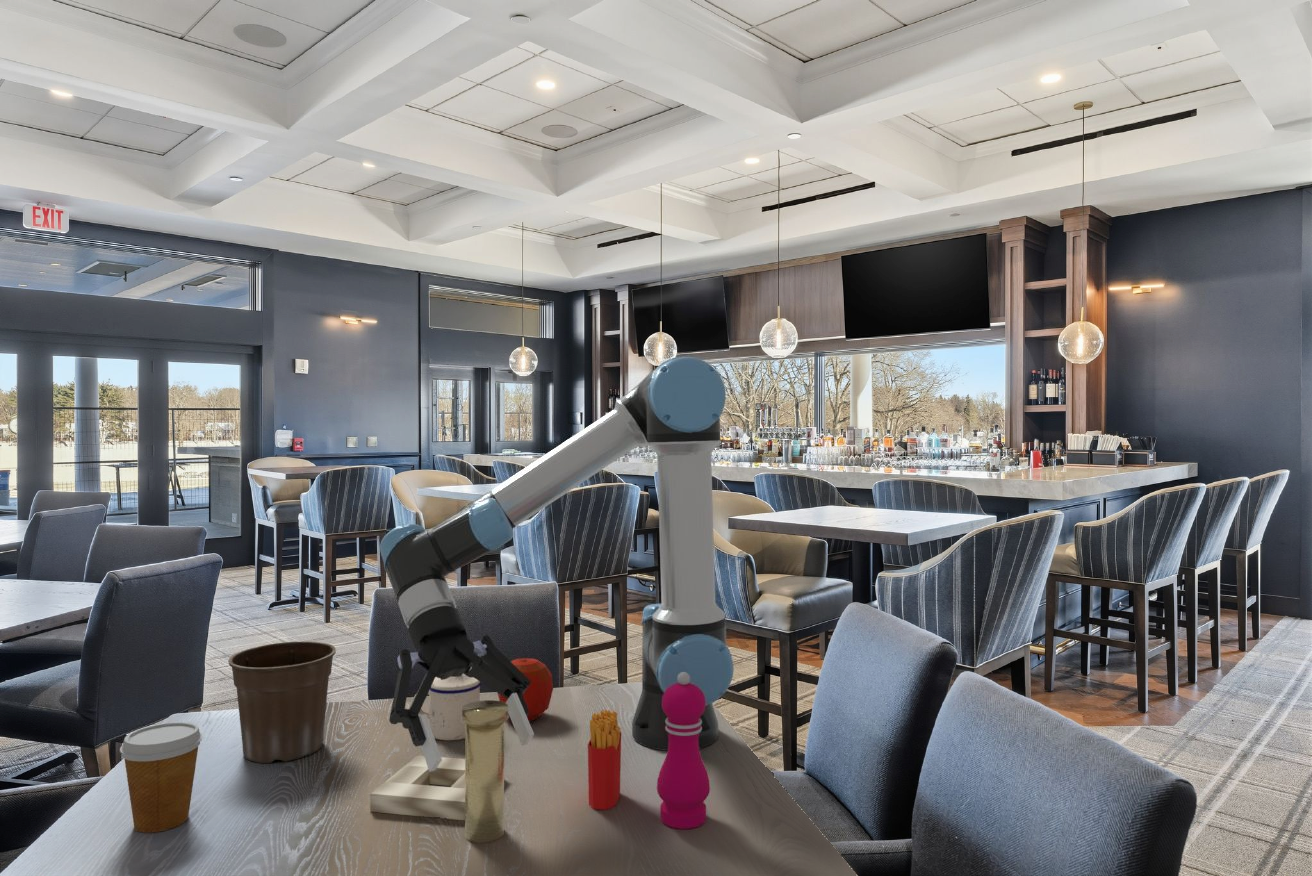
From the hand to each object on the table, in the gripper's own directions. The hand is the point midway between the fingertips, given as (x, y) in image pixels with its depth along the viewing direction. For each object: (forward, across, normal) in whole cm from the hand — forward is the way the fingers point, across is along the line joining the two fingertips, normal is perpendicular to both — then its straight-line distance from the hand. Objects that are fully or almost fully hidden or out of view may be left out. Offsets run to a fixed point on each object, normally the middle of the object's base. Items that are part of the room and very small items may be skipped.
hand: (483, 752), depth 107 cm
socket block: (-3, -1, -18) cm, 18 cm away
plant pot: (-26, +11, -41) cm, 50 cm away
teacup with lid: (-19, -14, -34) cm, 41 cm away
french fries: (+9, -18, -6) cm, 21 cm away
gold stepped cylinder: (+8, 0, -7) cm, 11 cm away
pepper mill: (+18, -23, +2) cm, 29 cm away
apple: (-17, -28, -32) cm, 46 cm away
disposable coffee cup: (-14, +31, -30) cm, 45 cm away
